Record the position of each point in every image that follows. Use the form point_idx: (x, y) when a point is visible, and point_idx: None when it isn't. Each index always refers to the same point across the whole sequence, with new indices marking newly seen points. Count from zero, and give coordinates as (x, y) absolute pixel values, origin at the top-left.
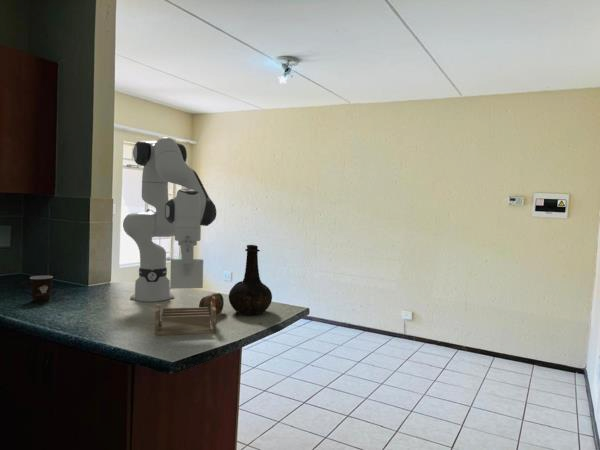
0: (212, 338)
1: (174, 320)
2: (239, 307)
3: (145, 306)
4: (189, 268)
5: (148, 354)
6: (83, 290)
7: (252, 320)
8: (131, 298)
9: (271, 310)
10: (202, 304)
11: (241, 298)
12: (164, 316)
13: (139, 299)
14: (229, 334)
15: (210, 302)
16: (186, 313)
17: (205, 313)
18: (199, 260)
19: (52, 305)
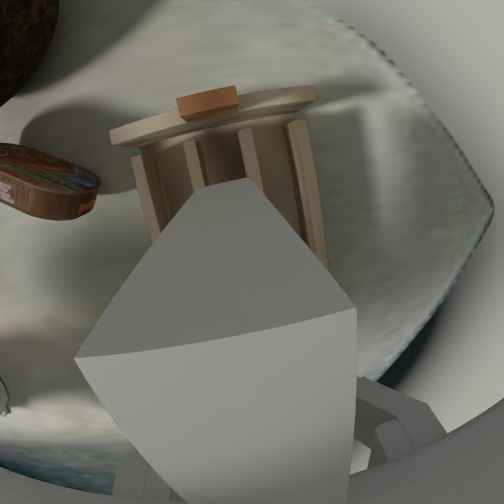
0: (353, 113)
1: None
2: (41, 54)
3: (32, 386)
4: (393, 395)
5: (456, 272)
6: (15, 466)
7: (109, 6)
8: (7, 413)
9: None
10: (76, 201)
11: (29, 32)
12: None
13: (6, 401)
14: (303, 56)
15: (32, 175)
16: None
17: (254, 147)
18: (349, 410)
19: None
